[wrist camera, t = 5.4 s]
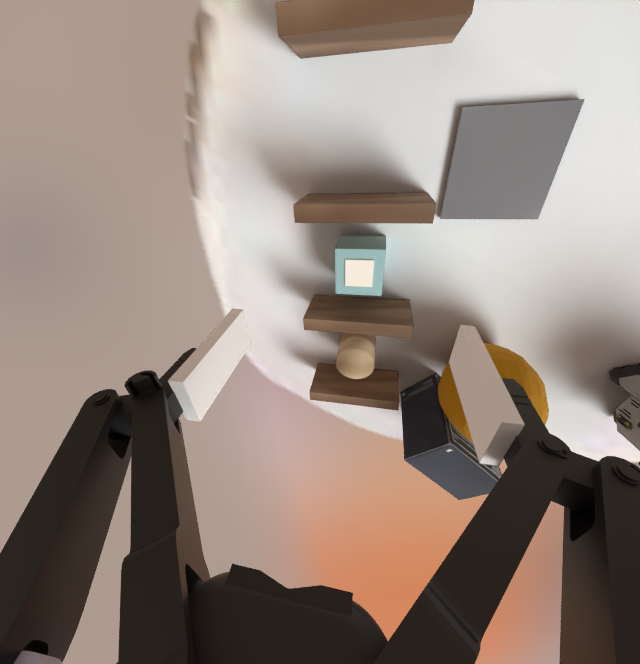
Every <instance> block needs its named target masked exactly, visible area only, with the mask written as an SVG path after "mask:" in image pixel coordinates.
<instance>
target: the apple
mask: <svg viewBox="0 0 640 664" xmlns="http://www.w3.org/2000/svg"><path fill="white" fill-rule="evenodd" d="M484 345H485V347H486V349H487V351H488V353H489V355H490V357H491V359H492V361H493V363H494V365H495V367H496V369H497V371H498V373H499V375H500V377H501V378H507V379H514V380H515V381H516V382H517V383H519V384H520V385H521V386H522V387H523V388H524V390H525V392H526V393H527V395H528V398H529V399H530V400H531V402H532V404H533V406H534V407H535V409H536V411H537V413H538V414H539V416H540V418H541V420H542V421H543V423H544V425H545V424H546V421H547V419H548V412H549V409H548V403H547V397H546V392H545V386H544V383H543V382H542V380H541V378H540V377H539V375H538V374H537V373H536V371H535V370H534V369H533V368H532V367H531V366H530V365H529V364H528V363H527V362H526V361H525V359H524V358H523V357H521V356H519V355H517V354H516V353H514V352H512V351H510V350H509V349H506V348H503V347H500V346H497V345H493V344H488V343H484ZM438 396H439V402H440V405H441V407H442V409H443V411H444V412H445V414H446V416H447V418H448V419H449V421H450V423H451V424H452V425H453V426H454V427H455V428H456V429H457V431H458V432H459V433H461V434H462V435H463V436H465V437H466V438H467V439H469V440H470V441H471V442H473V440H472V437H471V434H470V430H469V427H468V424H467V420H466V417H465V414H464V411H463V407H462V404H461V401H460V397H459V394H458V391H457V387H456V384H455V381H454V377H453V374H452V371H451V367H450V364H449V362H448V363H447V365H446V367H445V369H444V370H443V373H442V376H441V379H440V382H439V385H438Z"/></svg>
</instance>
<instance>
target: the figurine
mask: <svg viewBox="0 0 640 664" xmlns="http://www.w3.org/2000/svg"><path fill="white" fill-rule="evenodd" d="M609 372H610V379H611V380H612V381H614V382H615V383H616V384H617V385H621V386H622V387H623V388H624V389H625V390H626V391H627V392H629V393H630V394H631V395H632V396H630V397H629V398H628V399H627V400H626V401H624V402H623V403H622V404H621V405H620V406H619V407H618V408H617V409H616V415H613V416H614V421H615V422H616V423H617V431H618V432H619V433H620V434H622V435H623V436H624V437H625V438H626V439H627V440H628V441H629V442H631V443H632V444H633V445H634V446H635V447H636V448H637V449H638V450H640V363H639V366H634V367H631V366H624V367H623V369H621V368H614V369H613V371H609ZM639 465H640V462H639Z"/></svg>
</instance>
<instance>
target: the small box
mask: <svg viewBox="0 0 640 664" xmlns="http://www.w3.org/2000/svg"><path fill="white" fill-rule="evenodd" d="M440 379H441V377H440V376H439V375H438V374H434V375H432V376H430V377H428V378H427V379H425V380H423V381H421V382H419V383H417V384H415V385H413V386H412V387H409V388H407V389H406V390H404V391H402V392H401V407H402V424H403V442H404V460H405V461H407V462H408V463H409V464H410V465H412V466H413V467H415V468H416V469H417V470H419V471H420V472H422V473H423V474H424V475H426V476H427V477H429V478H430V479H431V480H432V481H434V482H435V483H437V484H438V485H439V486H441V487H442V488H443V489H445V490H446V491H447V492H449V493H450V494H452V495H453V496H454V497H456V498H457V499H458V500H461V499H467V498H471V497H476V496H480V495H485V494H490V492H491V491H492V489H493V488H494V486H495V485H496V483H497V482H498V480H499V479H500V478H501V476H502V474H501V471H500V468H499V466H495V465H488V464H481V463H479V460H478V457H477V454H476V450H475V447H474V444H473V442H471V441H470V440H469V439H467V438H466V437H465V436H463V435H462V434H461V433H459V432H458V431H457V429H456V428H455V427H454V426H453V425H452V424H451V423H450V421H449V419H448V418H447V416H446V414H445V412H444V411H443V409H442V407H441V405H440V402H439V396H438V385H439V382H440Z"/></svg>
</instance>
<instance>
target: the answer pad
mask: <svg viewBox="0 0 640 664" xmlns="http://www.w3.org/2000/svg"><path fill="white" fill-rule="evenodd" d="M583 102H584V99H579V100H564V101H549V102H533V103H518V104H503V105H488V106H472V107H462V108H461V112H460V117H459V122H458V127H457V132H456V137H455V142H454V147H453V152H452V157H451V162H450V168H449V173H448V178H447V183H446V188H445V193H444V198H443V203H442V208H441V213H440V219H538V217H539V214H540V212H541V209H542V207H543V204H544V202H545V199H546V197H547V194H548V191H549V189H550V186H551V184H552V181H553V179H554V176H555V174H556V171H557V168H558V166H559V163H560V161H561V158H562V156H563V153H564V151H565V148H566V145H567V143H568V140H569V138H570V135H571V133H572V130H573V128H574V125H575V122H576V120H577V117H578V115H579V112H580V110H581V107H582V105H583Z"/></svg>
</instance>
